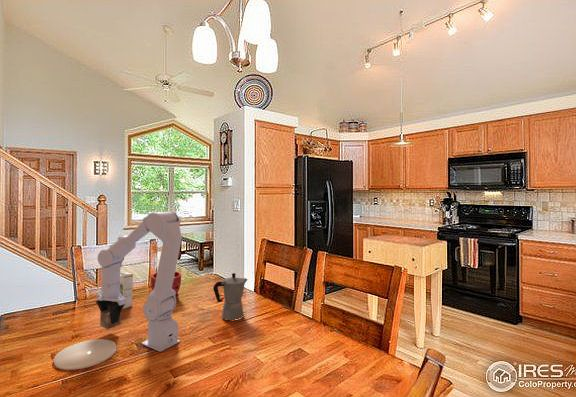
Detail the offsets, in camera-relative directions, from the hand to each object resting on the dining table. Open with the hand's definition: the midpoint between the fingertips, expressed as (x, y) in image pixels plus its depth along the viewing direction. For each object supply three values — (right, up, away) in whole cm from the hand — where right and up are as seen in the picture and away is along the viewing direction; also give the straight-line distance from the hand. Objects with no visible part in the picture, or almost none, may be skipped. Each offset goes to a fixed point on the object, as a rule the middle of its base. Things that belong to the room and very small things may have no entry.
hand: (110, 320), depth 110 cm
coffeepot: (+39, -5, +17) cm, 43 cm away
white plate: (+1, -5, -14) cm, 15 cm away
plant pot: (+6, -4, +35) cm, 35 cm away
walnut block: (0, -2, 0) cm, 2 cm away
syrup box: (-9, -4, +25) cm, 27 cm away
